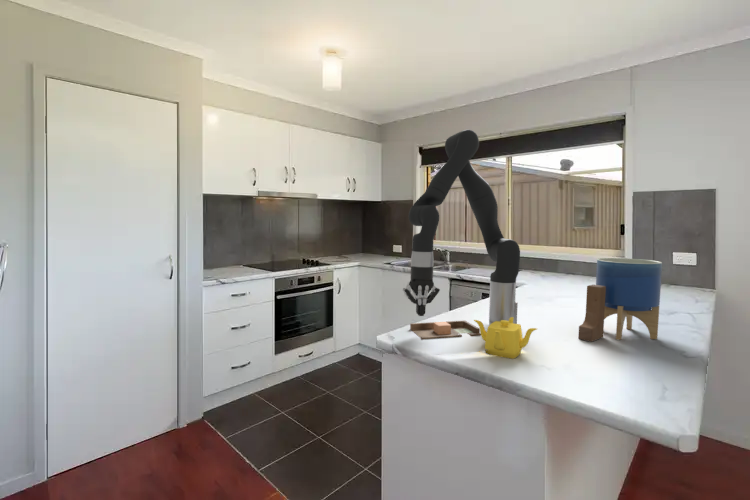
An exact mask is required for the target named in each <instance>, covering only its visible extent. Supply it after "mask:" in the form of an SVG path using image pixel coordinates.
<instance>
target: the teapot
mask: <svg viewBox="0 0 750 500" xmlns="http://www.w3.org/2000/svg"><path fill="white" fill-rule="evenodd" d="M513 319H514V318H513V317H511V318H509V321H507V320H501V321H495V322H493V323H492V324H490V325H489V324H488V326H487V330H486V329H485V326H484V324H483V322H482V321H480V320H479V319H478V320H477V319H473V321H474V323H477V325H478V328H479V329H480V333H481V335H480V336H481V338H482V340H483V341H484V342H485V343H484V349H485V350H484V351H485V354H486V355H491V356H495V357H501V358H505V359H512V360H515V359H517V357H519V356H520V354H521V352H522V349H523V348H525V347H526V346H527V345H528V344H529V342H530V338H531V335H532V333H533V332H534V331H536V330H538V328H537V327H532V328H528V329H527V331H526V332H525V334H524V336H523V332H522V330H523V329H522V325H521V324H520V323H517V324H514V323H513Z"/></svg>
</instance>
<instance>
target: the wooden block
mask: <svg viewBox="0 0 750 500" xmlns="http://www.w3.org/2000/svg"><path fill="white" fill-rule="evenodd" d="M605 294H606V286H601V285H596V284H590V285H586V298H585V299H586V301H585V302H586V303H585V314H584V315H585V316H584V320H583V322H582V324H580V325H579V326H578V339H579V340H582V341H587V342H590V343H591V342H592V343H593V342H594V341H597V340H600V339H602V338H604V330H605V327H604V326H605V319H604V312H605Z"/></svg>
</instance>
